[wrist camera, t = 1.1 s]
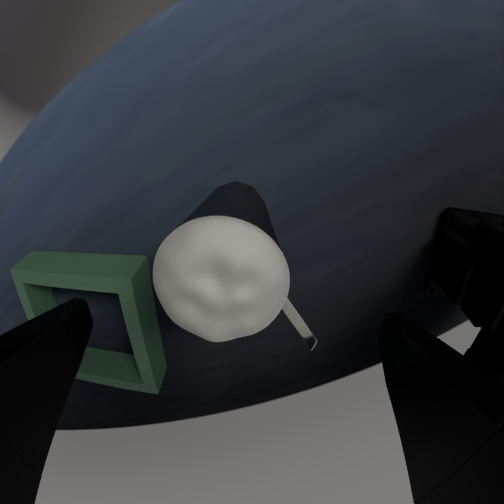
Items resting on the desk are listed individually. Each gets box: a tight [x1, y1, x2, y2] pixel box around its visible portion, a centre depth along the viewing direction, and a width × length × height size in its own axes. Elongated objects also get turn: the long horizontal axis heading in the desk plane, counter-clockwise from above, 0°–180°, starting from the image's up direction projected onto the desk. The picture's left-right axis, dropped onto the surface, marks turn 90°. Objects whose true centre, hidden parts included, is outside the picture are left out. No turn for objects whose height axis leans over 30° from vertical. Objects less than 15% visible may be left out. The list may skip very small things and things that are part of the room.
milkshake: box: [153, 181, 318, 351], centre depth 13 cm, size 4×5×10 cm
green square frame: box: [10, 251, 167, 394], centre depth 19 cm, size 10×10×3 cm
